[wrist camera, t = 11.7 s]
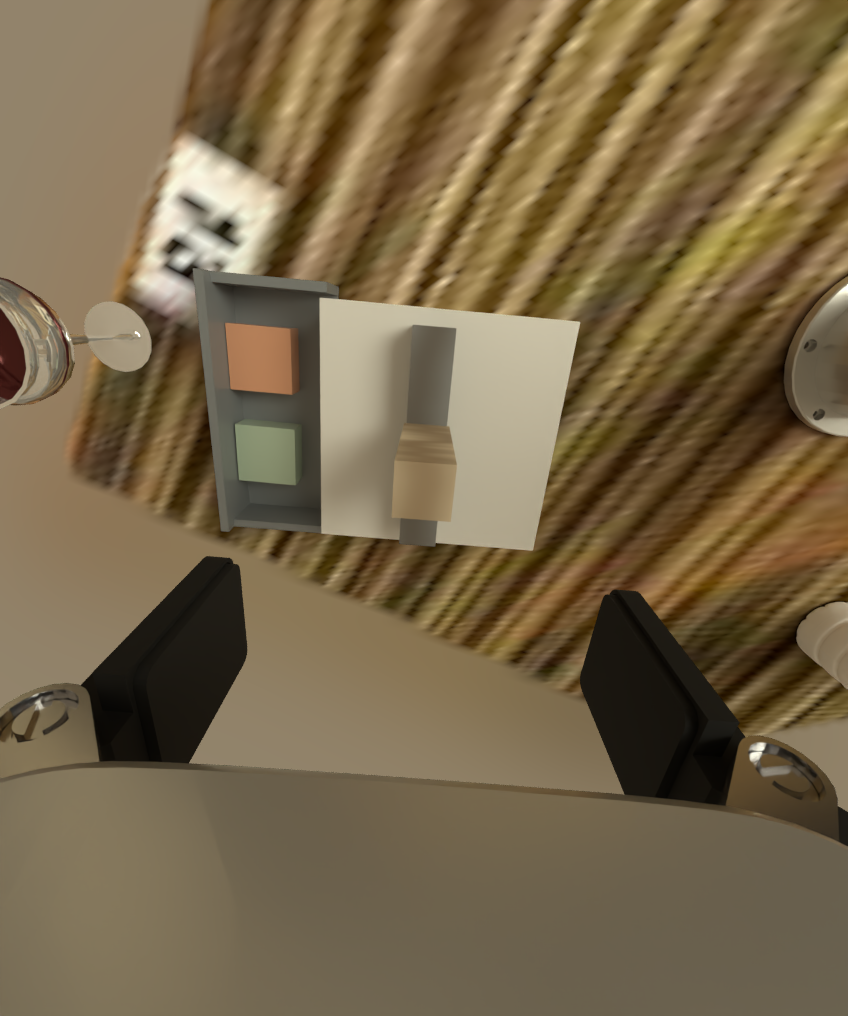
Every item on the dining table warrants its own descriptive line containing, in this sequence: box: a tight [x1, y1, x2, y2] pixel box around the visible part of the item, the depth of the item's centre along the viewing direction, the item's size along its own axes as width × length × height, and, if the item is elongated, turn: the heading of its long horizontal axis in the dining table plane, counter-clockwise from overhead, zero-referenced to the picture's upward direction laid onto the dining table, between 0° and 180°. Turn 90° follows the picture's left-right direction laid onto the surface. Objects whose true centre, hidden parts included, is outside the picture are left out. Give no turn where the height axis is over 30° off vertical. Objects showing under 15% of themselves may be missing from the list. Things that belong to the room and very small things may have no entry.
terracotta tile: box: [225, 323, 300, 395], centre depth 32 cm, size 4×4×2 cm
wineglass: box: [0, 278, 151, 409], centre depth 27 cm, size 7×7×12 cm
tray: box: [193, 268, 339, 533], centre depth 33 cm, size 8×18×5 cm, turn 175°
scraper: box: [392, 325, 457, 547], centre depth 25 cm, size 3×14×10 cm, turn 176°
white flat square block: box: [320, 298, 580, 551], centre depth 32 cm, size 16×16×6 cm
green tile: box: [235, 419, 302, 485], centre depth 35 cm, size 4×4×2 cm
